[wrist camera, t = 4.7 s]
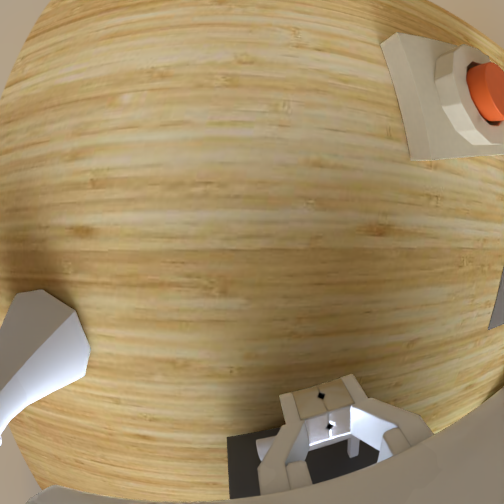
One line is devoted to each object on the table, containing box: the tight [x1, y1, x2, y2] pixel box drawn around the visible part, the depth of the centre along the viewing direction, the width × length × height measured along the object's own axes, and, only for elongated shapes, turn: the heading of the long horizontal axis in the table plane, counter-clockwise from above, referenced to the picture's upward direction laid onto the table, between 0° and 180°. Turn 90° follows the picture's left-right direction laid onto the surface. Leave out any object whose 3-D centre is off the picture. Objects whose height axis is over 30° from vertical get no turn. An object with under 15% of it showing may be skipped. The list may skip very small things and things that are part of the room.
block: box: [380, 32, 504, 161], centre depth 12 cm, size 10×8×4 cm
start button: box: [466, 62, 504, 122], centre depth 10 cm, size 4×4×2 cm
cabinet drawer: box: [227, 427, 380, 499], centre depth 15 cm, size 18×11×8 cm, turn 12°
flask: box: [0, 289, 91, 446], centre depth 11 cm, size 7×7×10 cm
